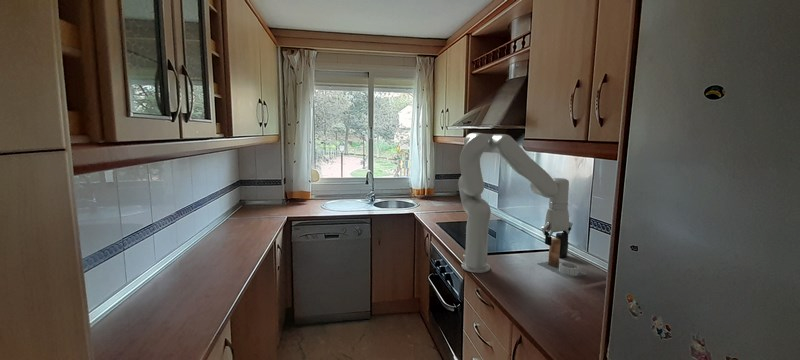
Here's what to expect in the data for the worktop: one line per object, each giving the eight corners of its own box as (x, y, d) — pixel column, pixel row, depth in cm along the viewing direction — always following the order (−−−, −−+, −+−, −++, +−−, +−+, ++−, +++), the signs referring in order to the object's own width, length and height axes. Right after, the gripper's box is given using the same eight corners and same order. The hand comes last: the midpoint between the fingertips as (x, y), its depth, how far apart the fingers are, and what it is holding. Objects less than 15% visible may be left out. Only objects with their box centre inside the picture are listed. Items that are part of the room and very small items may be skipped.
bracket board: (536, 265, 160) (537, 257, 160) (556, 262, 165) (556, 254, 164) (566, 280, 145) (567, 271, 144) (587, 276, 149) (588, 267, 149)
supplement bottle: (549, 257, 171) (550, 233, 170) (556, 254, 175) (558, 231, 174) (562, 261, 166) (564, 237, 164) (569, 258, 170) (571, 234, 168)
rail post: (545, 263, 160) (547, 238, 158) (553, 262, 162) (555, 237, 160) (553, 267, 156) (555, 241, 154) (560, 266, 158) (562, 240, 156)
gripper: (566, 202, 161) (564, 238, 164) (536, 206, 155) (535, 243, 158) (579, 206, 155) (577, 243, 157) (549, 209, 148) (548, 248, 151)
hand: (556, 243), depth 157 cm, fingers open, 9 cm apart
